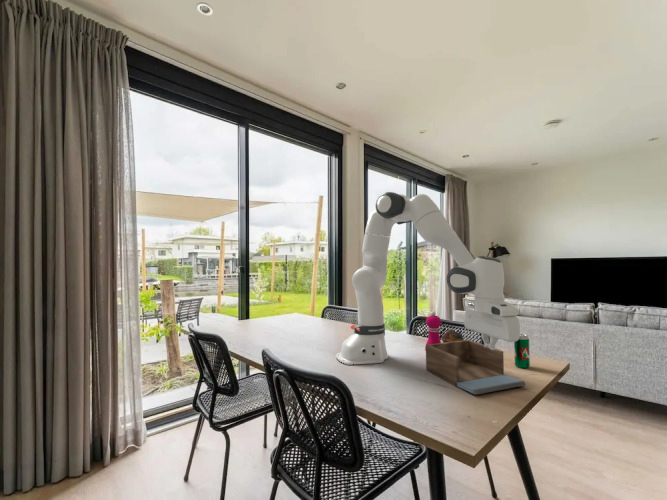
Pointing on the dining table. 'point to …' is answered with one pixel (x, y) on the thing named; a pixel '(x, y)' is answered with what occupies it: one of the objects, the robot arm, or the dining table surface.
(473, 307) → the robot arm
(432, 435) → the dining table surface
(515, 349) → the soda can
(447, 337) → the decorative turtle
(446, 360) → the box
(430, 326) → the pepper mill
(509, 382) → the panel
